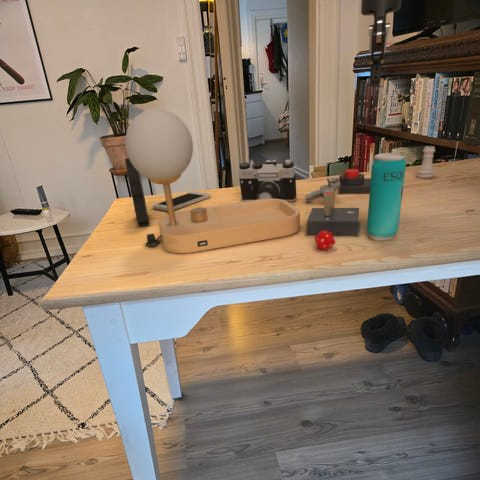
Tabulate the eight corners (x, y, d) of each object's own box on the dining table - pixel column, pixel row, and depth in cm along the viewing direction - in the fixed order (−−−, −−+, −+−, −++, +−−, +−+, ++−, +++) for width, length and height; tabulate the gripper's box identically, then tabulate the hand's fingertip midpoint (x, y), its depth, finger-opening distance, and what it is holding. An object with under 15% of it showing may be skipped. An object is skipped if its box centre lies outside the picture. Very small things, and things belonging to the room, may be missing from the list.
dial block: (358, 219, 90) (359, 204, 88) (357, 235, 81) (358, 220, 80) (307, 218, 93) (307, 205, 91) (301, 235, 84) (301, 220, 83)
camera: (235, 212, 106) (229, 175, 99) (245, 193, 114) (240, 157, 107) (290, 213, 102) (288, 174, 95) (298, 193, 109) (296, 156, 103)
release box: (377, 184, 114) (378, 171, 112) (378, 192, 106) (379, 179, 104) (339, 185, 116) (340, 172, 114) (337, 193, 109) (338, 180, 107)
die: (326, 237, 79) (318, 224, 76) (340, 240, 77) (333, 227, 74) (316, 252, 79) (308, 239, 76) (330, 256, 76) (323, 243, 73)
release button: (358, 175, 111) (359, 168, 110) (358, 178, 108) (358, 171, 107) (345, 175, 112) (345, 169, 111) (344, 179, 109) (344, 172, 108)
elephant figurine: (306, 197, 109) (339, 183, 106) (313, 217, 107) (346, 203, 105) (298, 180, 99) (334, 164, 97) (305, 201, 98) (342, 185, 95)
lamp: (280, 211, 99) (276, 93, 86) (308, 233, 85) (308, 95, 72) (143, 233, 94) (117, 110, 80) (148, 261, 79) (117, 116, 66)
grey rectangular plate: (327, 208, 88) (328, 185, 86) (334, 208, 88) (335, 185, 86) (323, 216, 84) (324, 193, 81) (330, 216, 83) (331, 193, 81)
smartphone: (210, 196, 116) (210, 193, 116) (169, 211, 107) (169, 208, 106) (193, 194, 121) (193, 191, 120) (152, 208, 111) (151, 204, 111)
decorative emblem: (149, 227, 97) (135, 161, 89) (139, 229, 97) (124, 162, 89) (148, 214, 107) (135, 153, 99) (138, 215, 107) (125, 154, 99)
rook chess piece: (436, 175, 116) (441, 145, 112) (429, 179, 114) (434, 148, 109) (420, 174, 119) (424, 145, 115) (414, 177, 116) (418, 147, 112)
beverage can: (402, 240, 77) (412, 156, 70) (372, 243, 77) (379, 160, 69) (390, 230, 82) (398, 151, 75) (362, 233, 82) (367, 154, 74)
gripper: (362, -10, 86) (357, 85, 94) (361, -20, 75) (355, 88, 84) (401, -15, 84) (391, 82, 92) (405, -27, 73) (394, 85, 82)
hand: (374, 85), depth 88 cm, fingers closed
